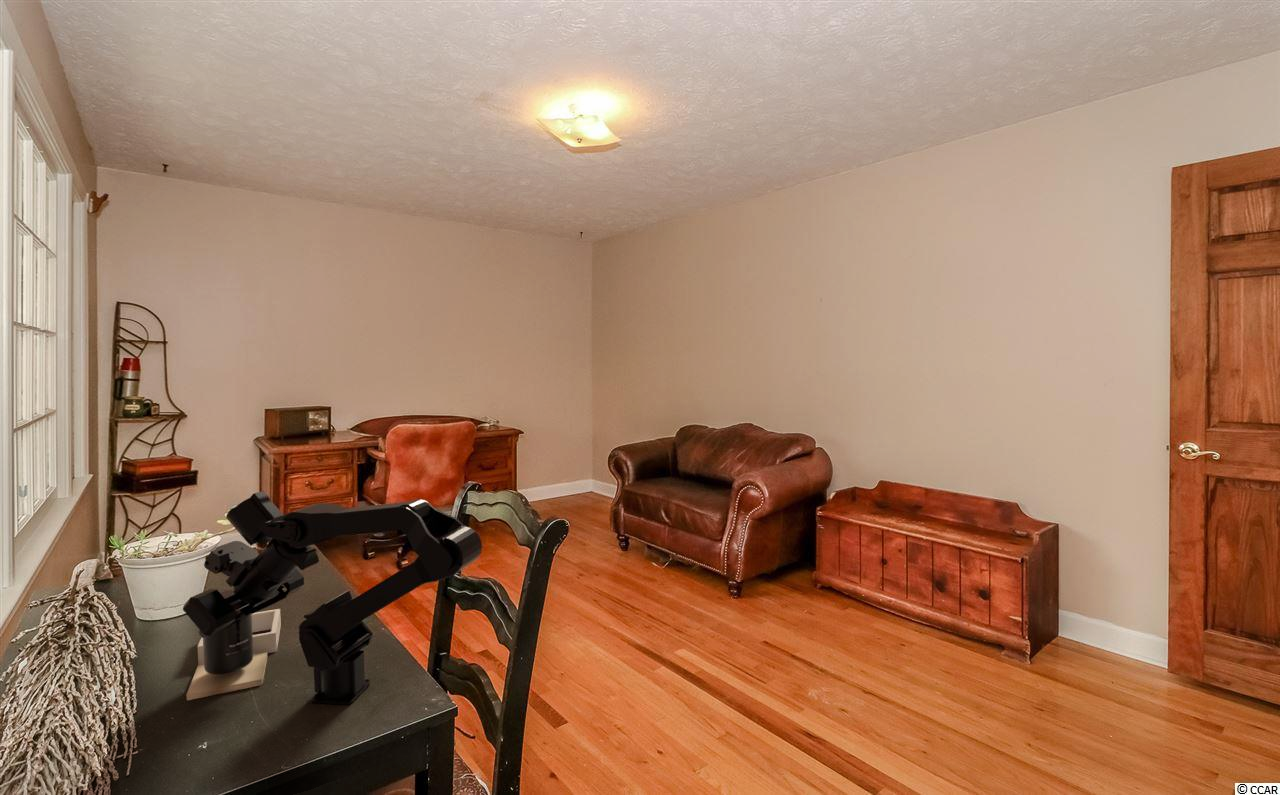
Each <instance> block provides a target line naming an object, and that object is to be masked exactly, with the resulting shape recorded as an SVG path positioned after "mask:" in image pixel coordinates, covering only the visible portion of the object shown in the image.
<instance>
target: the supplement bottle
mask: <svg viewBox="0 0 1280 795" xmlns="http://www.w3.org/2000/svg"><path fill="white" fill-rule="evenodd" d="M232 590H233V589H228V590H223V591H219V592H220V594H221V595H222V596H223V597H224V598H228V597H230V596H232V595H234V594H235V593H234V592H233V591H232ZM235 612H236V614H235V617H236V619H235V620H234V621H233V622H234V623H235V624H234V625H232V626H230V627H228V628H226V629H224V630H222V631H220V632H217V633H215V634H213V635H211V636H207V637H205V638H203V653H204V669H205V671H206V672H207V673H209V674H226V673H231V672H234V671H237V670H240V669H242V668H244V667H246V666H247V665H249V664H250V663H251V661H252V660H253V635H254V634H253V633H254V632H252V612H251V610H250V608H248V607H247V606H245V607H243V608H241V609H239V610H237V611H235Z"/></svg>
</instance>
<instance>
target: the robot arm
mask: <svg viewBox="0 0 1280 795" xmlns="http://www.w3.org/2000/svg"><path fill="white" fill-rule="evenodd" d="M225 518H226V519H227V521H228V522H229V523H230V524H231V526H232V527H234V529H235V530H236V531H237V532H238V534H240V536H241V537H242V538H243V539H244V540H245V541H246V542H247V544H246V543H244V542H242V541H241V540H233V541H231V542H227V543H225V544H221V545H218V546H216V548H215V549H212V550H211V551H210V552H209V554H208V555H205V557H204V558H205V561H204V563H203V565H204V568H205V569H206V570H207V571H209V572H211V573H213V574H215V575H217V574H220V573H222V574H223V575H224V576H226V577H228V578H227V579H226V580H225V583H226V584H227V585H228V586H229V587H230V588H231V587H233V589H231V590H232V591H233V592H234V593H235V594H234V595H232V596H230V597H228V598H224V597H223V596H222V595H221V594H220V592H221V591H219V590H218V589H215V588H214V589H213V588H210V589H207V590H204V591H202V592H200V593H197V594H195V595H193V596H190V598H189V599H188V600H187V601H186V602H185V603H184V604H183V607H182V611H184V613H185V614H186V615H187V616H188V618H190V620H191V621H192V623H193V624H194V625H195V626H196V627H197V628H198V629H199V632H198V634H199V636H200V637H202V638H205V637H207V636H211V635H213V634H215V633H217V632H220V631H222V630H224V629H226V628H228V627H230V626H232V625H234V624H235V623H234V622H233V621H234V620H235V619H236V617H235V614H236V612H235V611H237V610H239V609H241V608H243V607H245V606H247V607H248V608H250V610H251V612H252V614H253V613H257V612H261V610H262V611H263V610H264V609H266V608H268V607H270V606H272V605H276V604H277V603H279V602H280V601H282V600H284V599H286V598H287V597H289V596H291V595H293V594H295V593H297V592H298V591H300V589H301V588H302V587H304V585H305V577H304V576H303V574H302V573H301V572H300V571H299V570H301V571H304V570H306V569H308V568H311V567H312V566H315V565H317V564H319V563H320V559H319V555H318V553H317V551H318V550H317V548H312V545H316V544H318V543H322V542H324V541H327V540H330V539H333V538H336V537H337V538H338V537H341V536H353V535H354V536H355V535H362V534H363V535H364V534H365V535H366V534H373V533H384V532H394V531H397V532H398V531H401V533H403V534H404V535H405V536H406V538H407V540H408V542H409V543H410V544H409V545H410V546H411V548H412V550H413V552H414V553H415V554H416V555H417V556H416V557H415V558H414V559H413V561H412V562H411V563H410V564H409V565H408V564H407V566H405V567H404V568H402V569H400V570H398V571H397V572H395V573H394V574H391V575H390V576H389V577H387V578H386V579H384V580H382V581H380V582H379V583H378V584H375V585H373V587H371V588H369V589H368V590H366V591H363V592H362V593H361V594H359V595H356V596H352V594H351V592H350V589H347V590H345V591H344V592H343V593H340V594H339V595H336V596H335V597H333V598H331V599H330V600H328V601H326V602H324V603H323V604H321V605H320V606H318V607H316V608H315V609H313V610H311V611H309V612H308V613H306V614H304V615H303V618H304V619H305V620H303V621H302V622H301V623H300V624H299V626H298V629H299V630H298V641H299V643H300V647H301V649H302V652H303V655H304V657H305V660H306V663H307V666H308V667H309V668H313V689H314V690H313V691H314V693H315V694H314V695H313V696H312V697H311V698H310V702H311V703H313V704H314V703H315V704H335V705H350V704H353V702H354V701H355V700H356V699H357V698H358V697H359V696H360V695H361V694H362V693H363V692H364V690H365V689H366V688H367V687H368V686H369V685H370V684H371V679H368V678H366V672H365V671H366V668H365V667H366V666H365V665H366V664H365V650H362V649H365V648H366V647H368V646H369V645H370V644H371V641H372V638H373V635H374V634H373V632H372V631H371V630H370V628H369V627H368V626H367V625H366V624H365V622H366V621H367V619H368V618H369V617H370V616H372V615H374V614H376V613H378V612H379V611H381V610H382V609H384V608H385V607H387V606H389V605H391V604H392V603H394V602H396V601H398V600H399V599H401V598H402V597H404V596H406V595H407V594H410V593H411V592H412V591H414V590H416V589H417V588H419V587H421V586H423V585H425V584H426V585H427V584H431V583H437V582H439V581H441V580H445V579H447V578H450V577H453V576H455V575H456V574H458V573H459V572H461V571H462V570H464V568H466V567H468V566H469V565H471V564H472V563H473V562H475V561H477V559H479V557H480V556H481V554H482V549H483V544H482V543H483V542H482V540H481V537H480V535H479V534H478V533H477V531H476V530H474V529H473V528H472V527H468V526H466V525H465V524H464V523H462V522H461V521H460V520H459V519H458V518H457V517H454V516H452V515H450V514H448V513H446V512H444V511H442V510H439V509H438V508H435V507H434V506H433V505H432V504H431V503H430V502H429V501H427V500H425V499H421V498H416V499H413V500H411V501H409V500H408V501H400V502H392V503H391V502H390V503H382V504H372V505H364V506H354V507H346V506H342V505H339V504H337V503H327V502H325V503H324V502H318V503H314V504H311V505H308V506H306V507H303V508H299V509H296V510H293V511H291V512H287V513H285V514H283V513H282V511H281V510H280V509H279V507H277V506H276V505H275V504H274V503H273V501H272V500H271V498H270V496H269V495H268V494H267V493H266V492H265V491H264V490H262V491H259V492H255V493H252V494H251V496H250V497H249V498H246V499H245V500H243V501H242V502H240V503H238V504H237V505H235V507H232V508H230V509H229V511H228V512H227V514H226V517H225ZM430 532H433V533H434V534H437V535H439V536H440V537H438V538H436V537H435V536H433V535H432V534H431V533H430ZM255 544H258V545H259V546H263V545H266V546H265V547H264V548H263V549H262V550H261V552H258V550H256V549H255V548H253V547H251V546H253V545H255ZM297 567H298V568H299V570H298V569H297ZM284 589H286V590H284Z"/></svg>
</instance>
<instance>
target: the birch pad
mask: <svg viewBox="0 0 1280 795" xmlns="http://www.w3.org/2000/svg"><path fill="white" fill-rule="evenodd" d="M267 661H268V653H267V652H265V653H259V654H254V655H253V660H252V661H251V663H250V664H249V665H247V666H246V667H244V668H242V669H240V670H237V671H234V672H231V673H226V674H209V673H207V672H206V671H205V669H204V664H201V665H197V667H196V669H195V672H194V675H193V678H192V680H191V682H190V685H189V688H188V690H187V692H186V701H191V700H197V699H202V698H205V697H209V696H214V695H216V696H217V695H220V694H224V693H225V694H226V693H229V692H235V691H239V690H244V689H248V688H253V687H254V688H255V687H258V686H263V682H264V678H265V672H266V668H267V667H266V666H267V663H268V662H267Z"/></svg>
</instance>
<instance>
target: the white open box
mask: <svg viewBox="0 0 1280 795" xmlns="http://www.w3.org/2000/svg"><path fill="white" fill-rule="evenodd" d="M281 618H282V617H281V608H277V609H271V610H264V611H263V610H262V611H257V612H255V613H253V614H252V633H257V632H262V631H269V630H270V631H269V632H265V633H258V634H253V655H254V654H259V653H265V652H267V654H272V653H276V652H278V644H279V639H280V633H281V624H282V623H281V621H282V620H281ZM200 637H201V636H200ZM197 662H198V665H201V664H204V653H203V638H202V637H201V638H200V640H199V642H198V644H197ZM198 665H197V666H198Z"/></svg>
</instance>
